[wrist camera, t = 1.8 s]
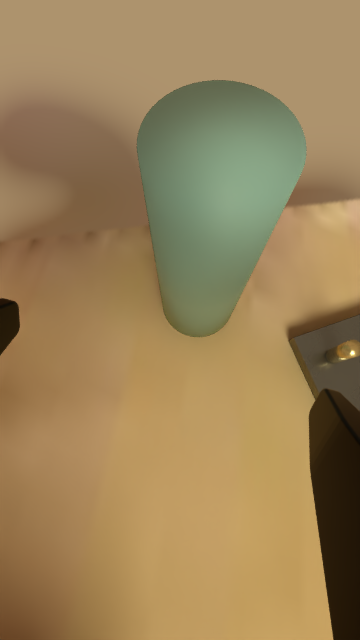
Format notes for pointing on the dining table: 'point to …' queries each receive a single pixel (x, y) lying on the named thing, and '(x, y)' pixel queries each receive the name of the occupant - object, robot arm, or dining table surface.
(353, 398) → the plate
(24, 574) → the dining table surface
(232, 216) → the teal wooden post
